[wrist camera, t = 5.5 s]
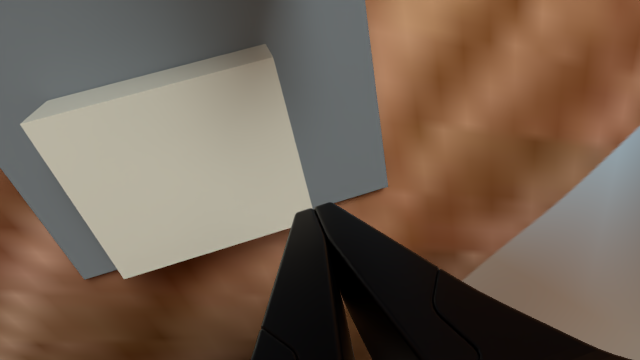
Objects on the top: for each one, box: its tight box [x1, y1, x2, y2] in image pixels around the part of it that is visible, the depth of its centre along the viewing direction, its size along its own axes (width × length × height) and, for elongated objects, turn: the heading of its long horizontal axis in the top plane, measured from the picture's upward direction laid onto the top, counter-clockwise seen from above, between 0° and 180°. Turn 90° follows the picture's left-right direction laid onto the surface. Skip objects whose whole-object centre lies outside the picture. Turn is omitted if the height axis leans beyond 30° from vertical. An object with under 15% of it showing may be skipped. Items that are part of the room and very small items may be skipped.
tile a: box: [20, 44, 313, 279], centre depth 13 cm, size 6×2×7 cm
